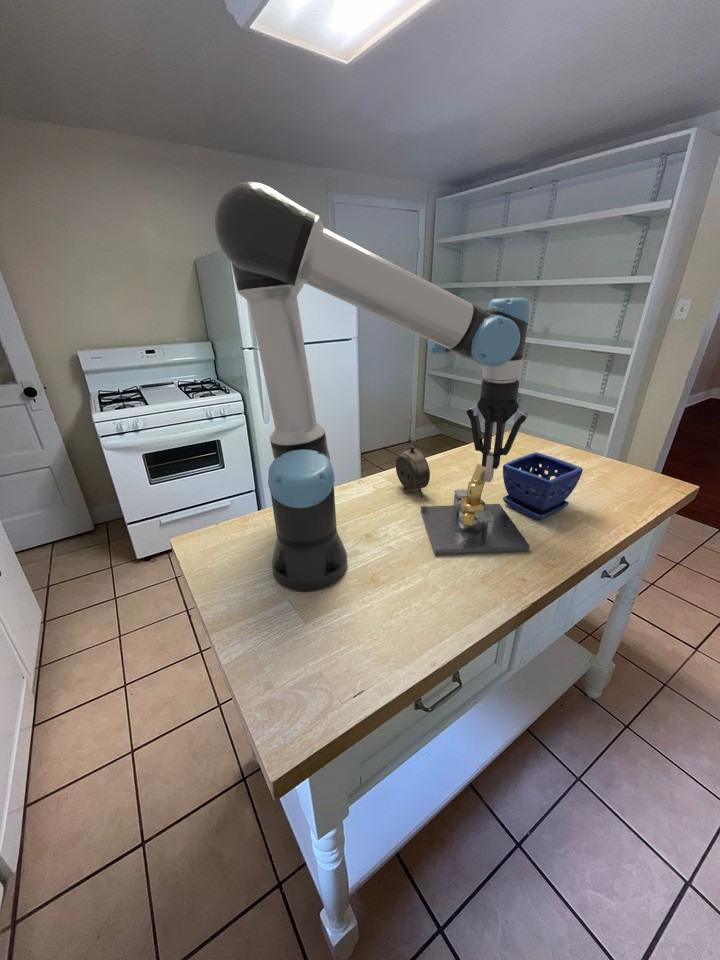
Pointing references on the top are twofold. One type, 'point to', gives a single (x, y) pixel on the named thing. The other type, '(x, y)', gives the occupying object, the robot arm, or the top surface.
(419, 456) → the alarm clock
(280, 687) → the top surface
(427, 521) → the socket
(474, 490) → the lever handle
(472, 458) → the top surface
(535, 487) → the flower pot
